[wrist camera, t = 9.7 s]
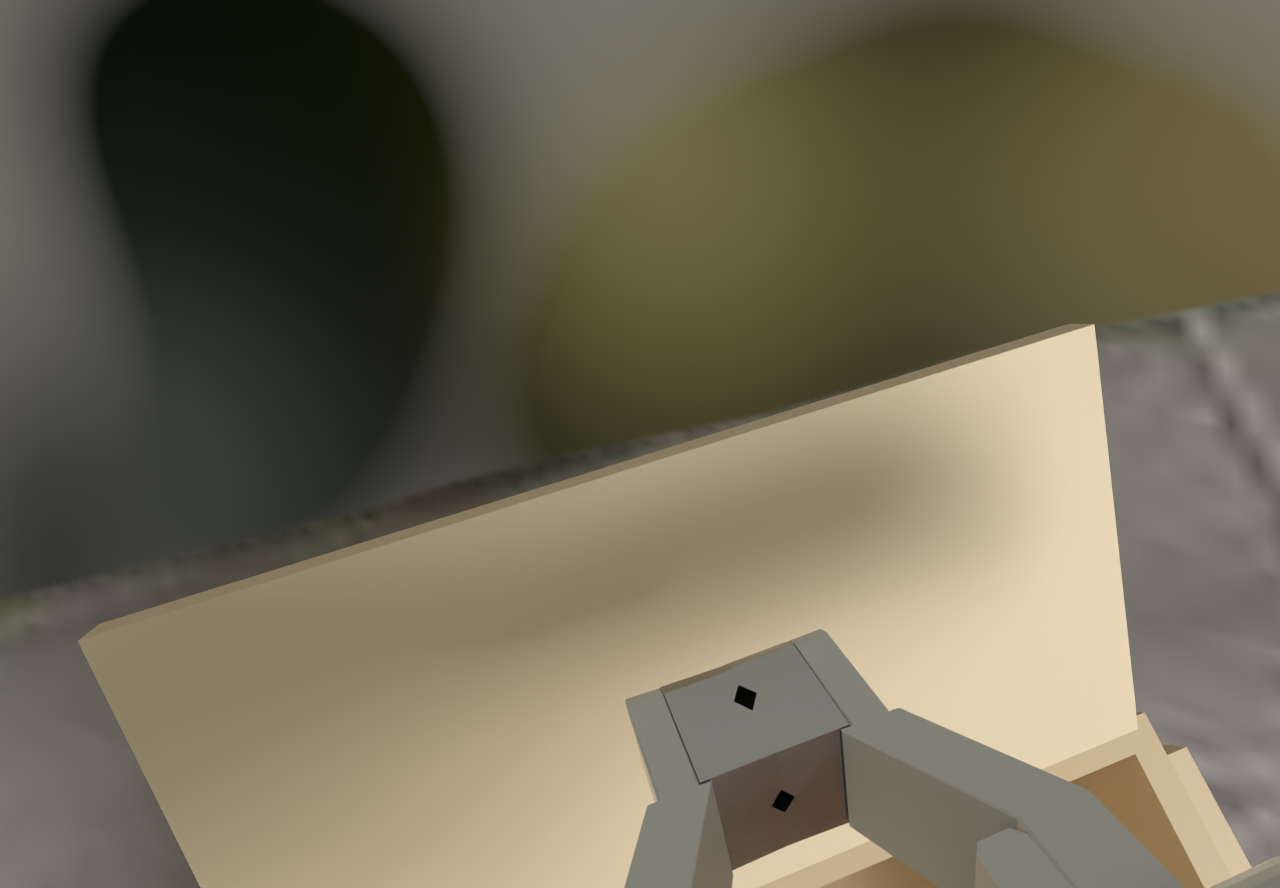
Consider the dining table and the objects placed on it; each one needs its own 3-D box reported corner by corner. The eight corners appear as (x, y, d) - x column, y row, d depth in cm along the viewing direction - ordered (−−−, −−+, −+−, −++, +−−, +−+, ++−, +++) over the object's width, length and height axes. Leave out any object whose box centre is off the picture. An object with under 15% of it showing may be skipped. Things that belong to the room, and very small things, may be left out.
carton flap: (1137, 729, 15) (1093, 324, 13) (296, 1079, 12) (77, 640, 10) (1114, 713, 16) (1069, 324, 14) (304, 1046, 13) (99, 623, 11)
